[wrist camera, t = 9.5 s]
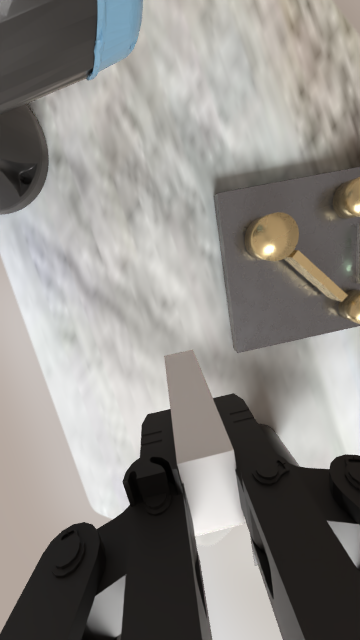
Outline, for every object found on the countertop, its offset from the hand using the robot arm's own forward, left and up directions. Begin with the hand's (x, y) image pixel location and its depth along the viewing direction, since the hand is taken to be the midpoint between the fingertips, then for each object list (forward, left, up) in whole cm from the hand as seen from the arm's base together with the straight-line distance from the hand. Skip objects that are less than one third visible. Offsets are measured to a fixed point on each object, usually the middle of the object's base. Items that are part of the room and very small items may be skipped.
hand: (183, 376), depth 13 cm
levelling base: (0, +22, -26) cm, 34 cm away
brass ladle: (-1, +20, -24) cm, 31 cm away
